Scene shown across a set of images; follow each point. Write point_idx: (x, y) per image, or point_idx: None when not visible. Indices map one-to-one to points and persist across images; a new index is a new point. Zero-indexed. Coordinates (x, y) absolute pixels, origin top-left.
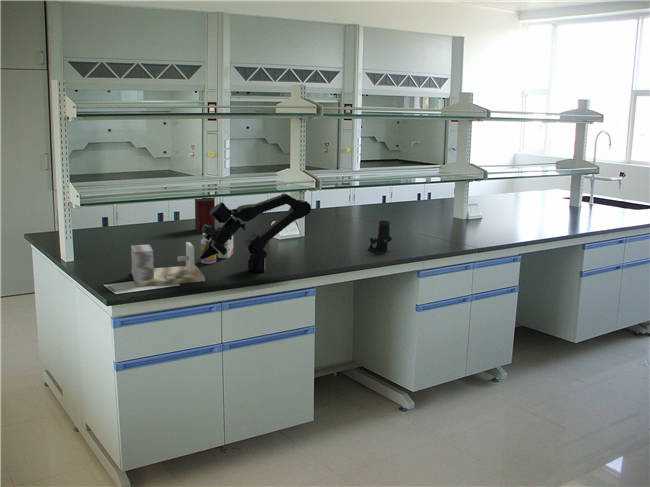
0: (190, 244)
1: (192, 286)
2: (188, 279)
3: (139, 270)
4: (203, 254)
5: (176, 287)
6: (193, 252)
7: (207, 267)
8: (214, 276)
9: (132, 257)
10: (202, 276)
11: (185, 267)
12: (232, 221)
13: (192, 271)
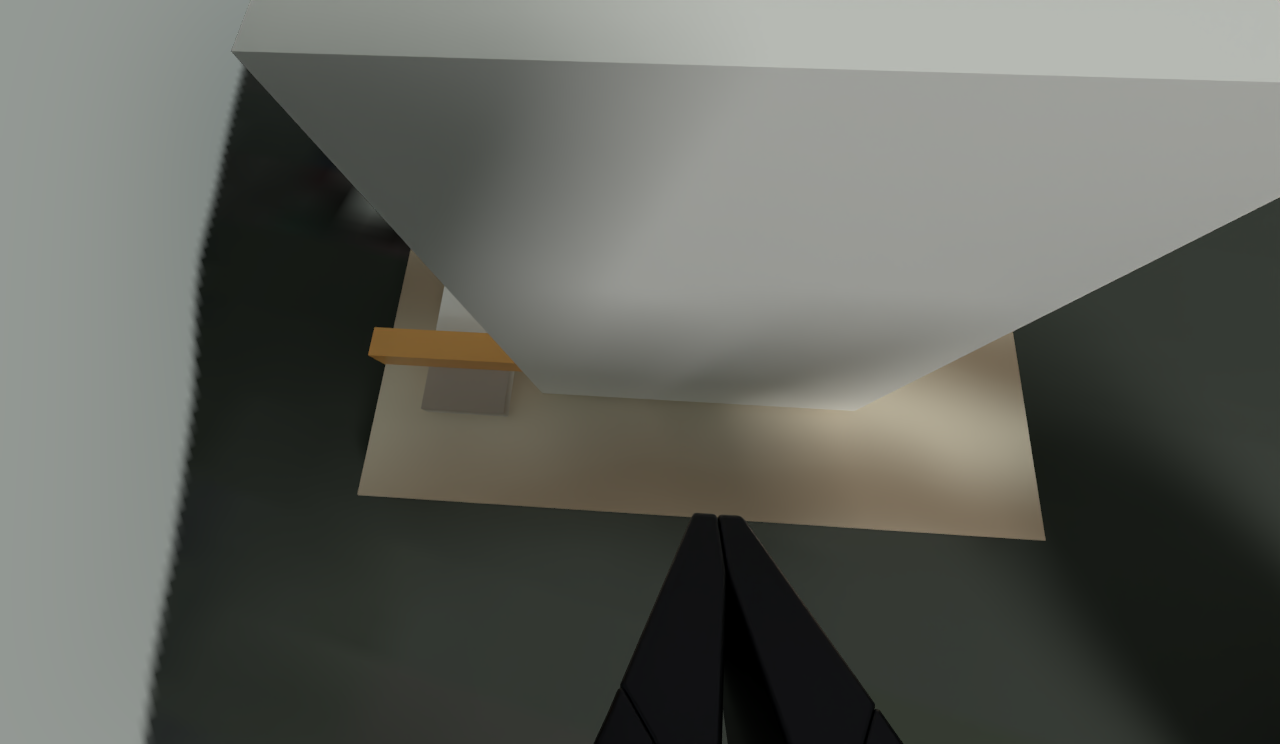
0: (850, 13)
1: (271, 312)
2: (407, 290)
3: None
4: (654, 610)
5: (323, 170)
6: (388, 199)
7: (1070, 740)
8: (548, 690)
9: None
10: (423, 474)
11: (945, 371)
12: None
13: (472, 336)
